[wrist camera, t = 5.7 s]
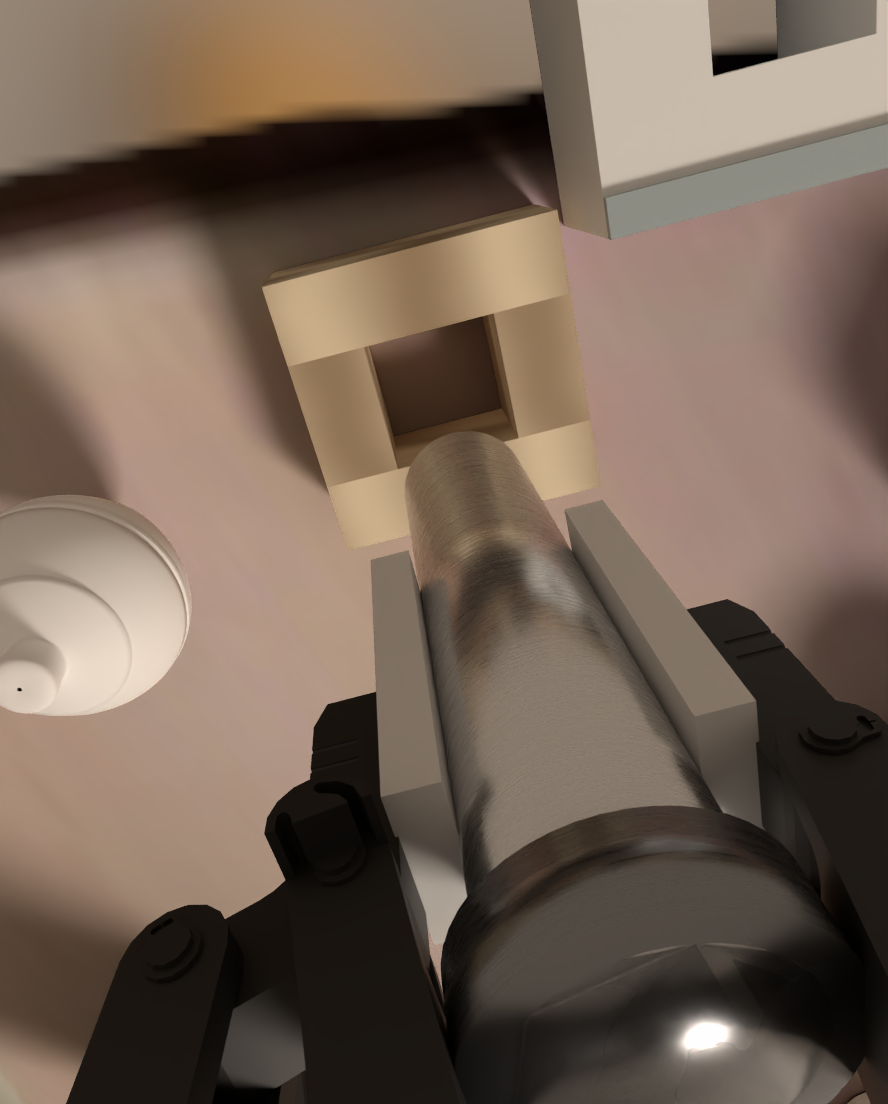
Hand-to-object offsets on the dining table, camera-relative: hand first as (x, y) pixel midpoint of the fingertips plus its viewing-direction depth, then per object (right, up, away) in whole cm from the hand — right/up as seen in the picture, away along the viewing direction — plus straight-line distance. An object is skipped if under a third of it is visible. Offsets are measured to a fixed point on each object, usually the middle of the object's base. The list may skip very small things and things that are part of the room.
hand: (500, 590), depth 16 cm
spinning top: (-14, +2, +18) cm, 23 cm away
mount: (-1, +8, +16) cm, 18 cm away
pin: (-1, +2, +5) cm, 6 cm away
